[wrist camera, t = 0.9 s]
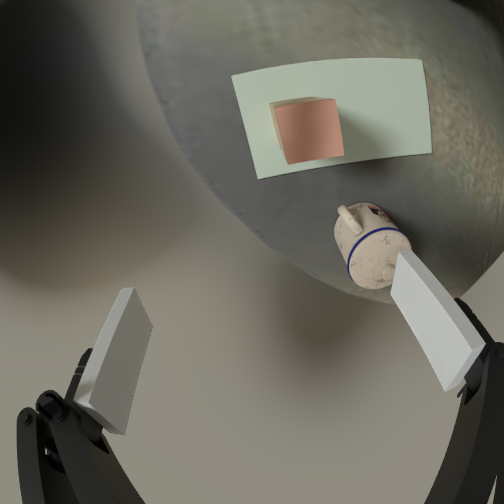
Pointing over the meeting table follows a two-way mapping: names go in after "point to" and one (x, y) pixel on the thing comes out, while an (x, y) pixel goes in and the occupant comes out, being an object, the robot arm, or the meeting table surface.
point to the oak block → (307, 128)
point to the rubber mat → (340, 108)
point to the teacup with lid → (369, 244)
